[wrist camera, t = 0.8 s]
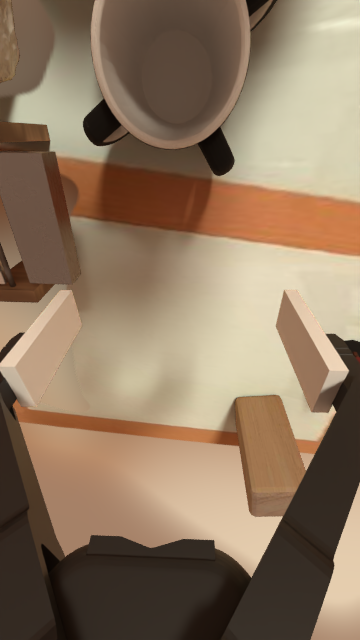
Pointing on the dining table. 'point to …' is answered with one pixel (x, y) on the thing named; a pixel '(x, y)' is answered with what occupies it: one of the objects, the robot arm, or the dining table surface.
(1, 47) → the stone
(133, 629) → the robot arm
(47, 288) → the frame
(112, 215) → the dining table surface
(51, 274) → the trapdoor
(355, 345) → the figurine
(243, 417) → the wooden block
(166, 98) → the mug
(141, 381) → the dining table surface
